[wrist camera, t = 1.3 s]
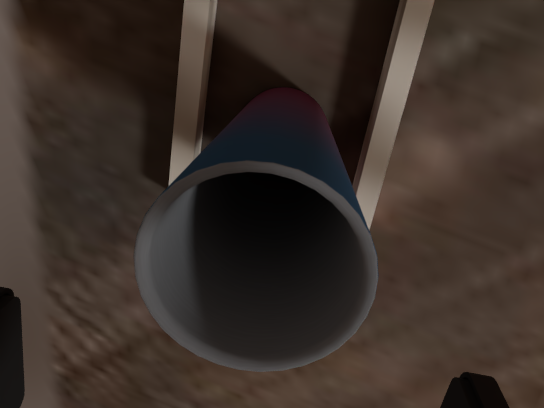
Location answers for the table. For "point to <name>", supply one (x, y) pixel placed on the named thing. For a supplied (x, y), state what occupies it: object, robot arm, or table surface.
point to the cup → (260, 243)
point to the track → (383, 115)
